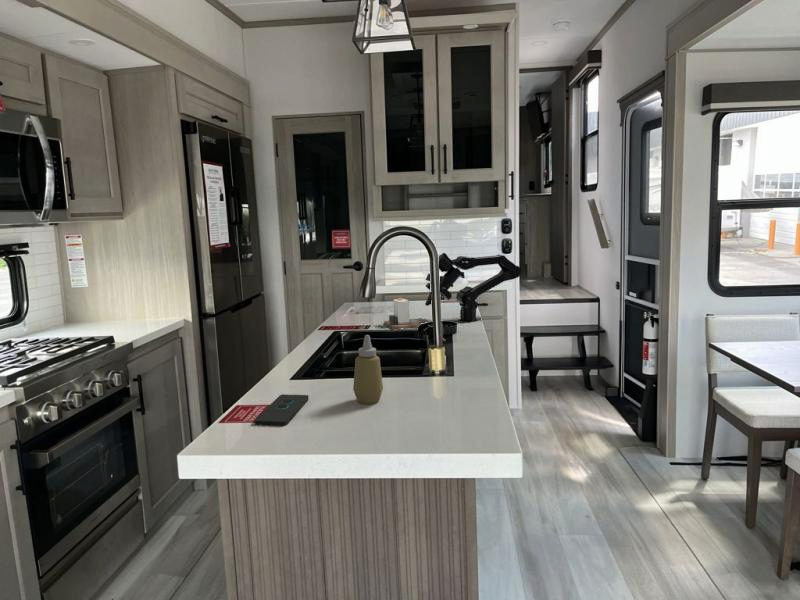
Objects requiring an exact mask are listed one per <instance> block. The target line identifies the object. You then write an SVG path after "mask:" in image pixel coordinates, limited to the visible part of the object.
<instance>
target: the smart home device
mask: <svg viewBox="0 0 800 600" xmlns="http://www.w3.org/2000/svg"><path fill="white" fill-rule="evenodd" d="M309 399H310V398H309V395H308V394H286V393H285V394H280V395H278V397H276V399H275V400H273V401H272V402H271V403H270V404H269V405H268V406H267V407H266V408H265V409H264V410H263V411H262V412H261V413H260V414H259V415H257V417H256V418H255V419H254V425H255V426H267V427H268V426H269V427H270V426H272V427H273V426H274V427H285V426H288V425H289V424H290V422H291V421H292V420H293V419H294V418H295V416H296V415H297V414H298V413H299V412H300V411H301V409H302V408H303V407H304V406H305V405H306V403H308V401H309Z"/></svg>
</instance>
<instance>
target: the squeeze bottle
mask: <svg viewBox="0 0 800 600" xmlns="http://www.w3.org/2000/svg"><path fill="white" fill-rule="evenodd" d="M354 362H355V363H354V373H353V387H352V390H353V393H354V396H355V398H356V399H355V400H356V401H357V402H358V404H363V405H372V404H376V403H378V402H380V399H381V396H382V392H383V390H384V385H383V384H384V383H383V377H382V368H381V359H380V357H379V356H378V355H377V348H375V347H373V345H372V342H371V336H370V335H369V334H365V335H364V339H363V345H362V347H360V348H358V356H356V357H355V361H354Z"/></svg>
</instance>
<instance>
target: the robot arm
mask: <svg viewBox="0 0 800 600" xmlns="http://www.w3.org/2000/svg"><path fill="white" fill-rule="evenodd" d="M438 256H439V269H438V270H439V271H440V272H442V273H443V272H444V275H440V292H441V300H442V301H443V300H444V297H445V299H446V300H448V301H450V300H451V299H452V295H453V294H452V293H451V291H449V290H450V288H453V287H454V286H455V285H454V283H456V281H457V280H459V278H461V279H465V276H466V275H465V272H464V270H465V271H468V270H471V269H473V268H475V267H480V266H490V265H498V266H499V268H500V271H498V273H496V274H495V275H493V276H490V278H487V279H486V280H484V281H482V282H481V283H479V284H477V285H475V286H474V287H471V286H468V285H466V286H465V287H463V288H462V289H459V290H458V292H456V297H455V299H456V301H457V302H458V303H459V306H460V312H459V317H460V318H459V319H458V321H460V322H468V323H473V322H476V321H478V320H479V318H477V309H478V307H479V303H478V302H477V299H478V298H479V296H480V295H483V294H484V293H486V292H488V291H490V290H491V289H493V288H495V287H497V286H499V285H500V284H502V283H504V282H507V281H508V282H509V281H512V280H516V279H517V278H519V277H520V276H521V274H522V269H521V267H520V266H519V265H516V264H515V263H514V262H512V261H510V259H508V258H507V257H506V256H505V255H503V254H497V255H485V256H477V257H473V256H463V255H459V256H457V257H456V258H454V259H451V258H450V257H449V256H448V255H447V253H445V252H442V253H441V254H439V255H438ZM454 266H455V267H454ZM461 270H463V271H461ZM430 274H431V273H429V272H428V273H427V276H426V278H425V280H426V281H428V282H427V283H426V285H425V288H427V289H428V290H429V294H428V297H427V299H426V301H425V302H424V305H425V306H426V307H428V306H430V305H432V304H431V292H430V283H431V282H430ZM441 300H440V301H441Z"/></svg>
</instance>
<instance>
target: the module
mask: <svg viewBox="0 0 800 600" xmlns="http://www.w3.org/2000/svg"><path fill="white" fill-rule="evenodd" d="M392 301H393V303H392V304H393V310H392V311H393V312H392V313H393V314H392V315H394V316H396V317H397V324H409V319H410V300H408V299H405V298H402V297H397V298H396V299H394V298H393V300H392Z"/></svg>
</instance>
